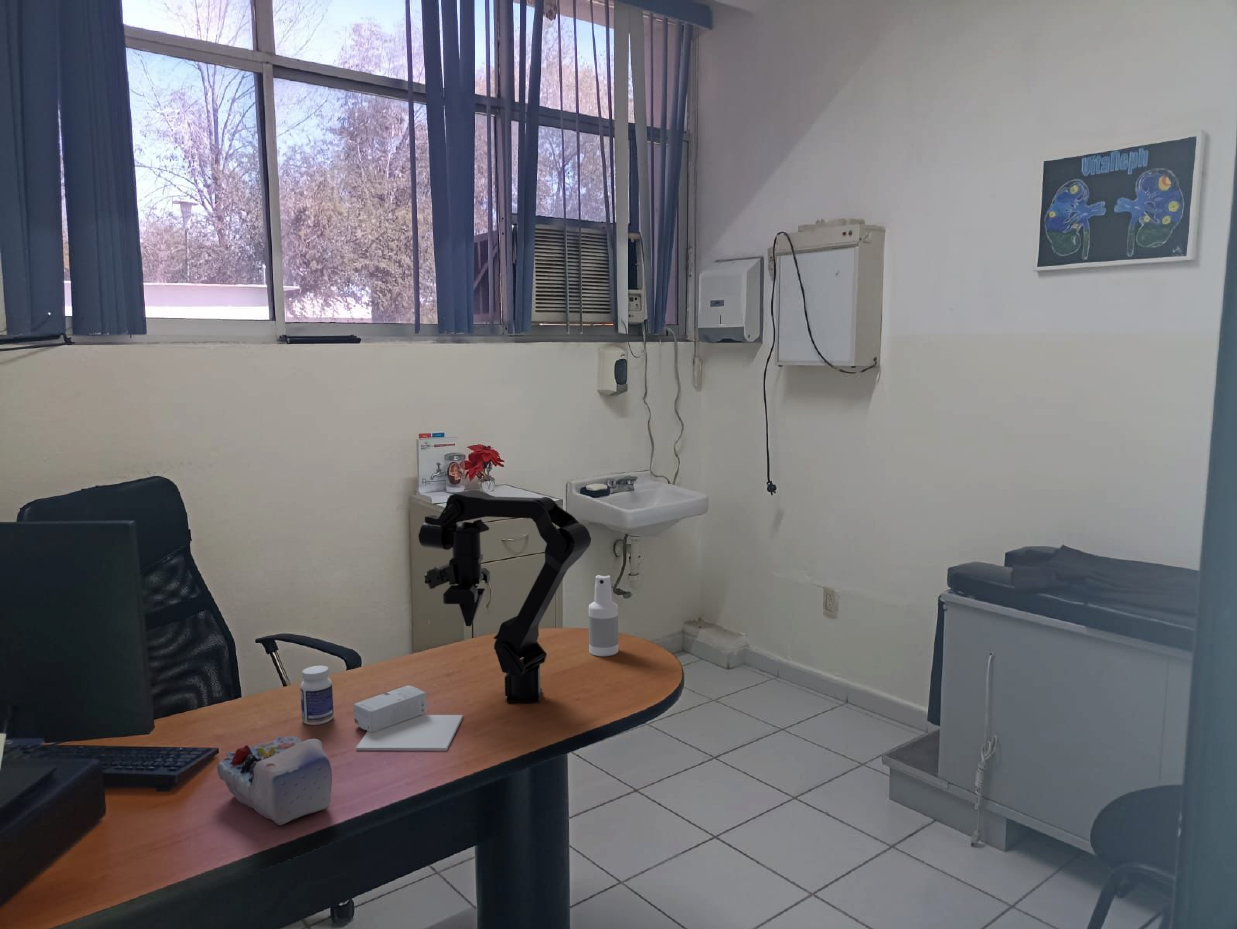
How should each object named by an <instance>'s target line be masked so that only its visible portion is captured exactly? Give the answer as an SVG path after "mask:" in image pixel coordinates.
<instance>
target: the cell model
mask: <svg viewBox="0 0 1237 929" xmlns="http://www.w3.org/2000/svg"><path fill="white" fill-rule="evenodd" d="M323 746H324V745H323V743H322V741H321V740H320V739H317V738H308V739H305V740H303V741H302V740H301V739H300V737H298V736H296V735H289V736H285V737H283V736H281V735H278V736H276V737H275V739H273V740H270V741H264V742H261V743H259V744H257V745H254V746H249V745H247V744H246V745H244V746H243V747H239V748H237V749H236V750H235V752H232V751H227V752H226V753H225V756H226V757H225V758H222V760H221V761H220V762H219V763H217V767H216V769H217V774H218V777H219V779H220V780H222V781H224V782H225V785H226V787H227V789H228V791H229V792H230V793H231V794H232V795H233V796H234V797H235V799H236V800H237V801H238V802H239V803H240V804H241V805H243V806H245V807H248V808H252V809H254V810H255V812H256V813H258V814H259V815H260V816H262V817H263V818H265V819H266V820H272V821H273V822H274V823H275V824H276V825H277V826H278V825H279V826H283V825H285V824H288V823H289V822H291V821H293V820H296V819H298V818H301V817H304V816H306V815H309V814H314V813H317V812H319V811H323V810H326V809H328V807H329V806H330V804H331V793H332V785H333V773H332V766H331V763H330V758H329V757H328V755H327V754H326V752H325V750H324V748H323Z"/></svg>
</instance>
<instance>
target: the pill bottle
mask: <svg viewBox="0 0 1237 929" xmlns="http://www.w3.org/2000/svg"><path fill="white" fill-rule="evenodd" d="M329 671H330V670H329V667H328V666H326V665H315V666H309V667H306V668H304V669H303V670H302V673H301V674H302V679H303V681H302V682H301V684H300V686H299V687H300V702H301V703H300V705H301V706H300V707H301V708H300V709H301V719H302V723H304V724H306V725H309V726H319V725H323V724H326V723H329V722H331V720H332V719H333V718H334V716H335V715H334V712H335V711H334V710H335V709H334V698H333V697H334V694H333V682H332V679H331V678H329V677H328V676H329V674H330V672H329Z"/></svg>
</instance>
